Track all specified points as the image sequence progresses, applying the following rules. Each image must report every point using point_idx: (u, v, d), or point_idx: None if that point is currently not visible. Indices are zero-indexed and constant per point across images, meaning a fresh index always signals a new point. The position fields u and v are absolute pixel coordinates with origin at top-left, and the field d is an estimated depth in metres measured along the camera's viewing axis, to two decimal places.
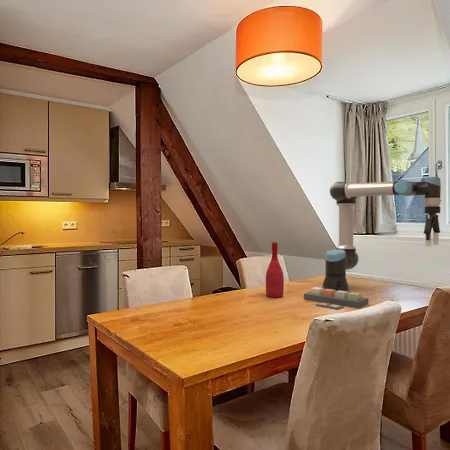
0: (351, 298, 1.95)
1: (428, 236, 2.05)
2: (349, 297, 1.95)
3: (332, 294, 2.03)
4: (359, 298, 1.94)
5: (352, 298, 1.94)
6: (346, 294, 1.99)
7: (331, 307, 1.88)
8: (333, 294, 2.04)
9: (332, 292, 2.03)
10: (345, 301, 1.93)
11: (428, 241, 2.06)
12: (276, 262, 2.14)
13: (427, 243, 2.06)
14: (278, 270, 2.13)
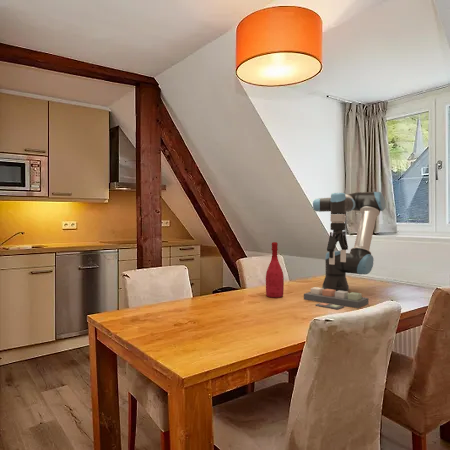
0: (351, 298, 1.95)
1: (331, 254, 1.98)
2: (349, 297, 1.95)
3: (332, 294, 2.03)
4: (359, 298, 1.94)
5: (352, 298, 1.94)
6: (346, 294, 1.99)
7: (331, 307, 1.88)
8: (333, 294, 2.04)
9: (332, 292, 2.03)
10: (345, 301, 1.93)
11: (331, 259, 2.00)
12: (276, 262, 2.14)
13: (331, 261, 2.00)
14: (278, 270, 2.13)
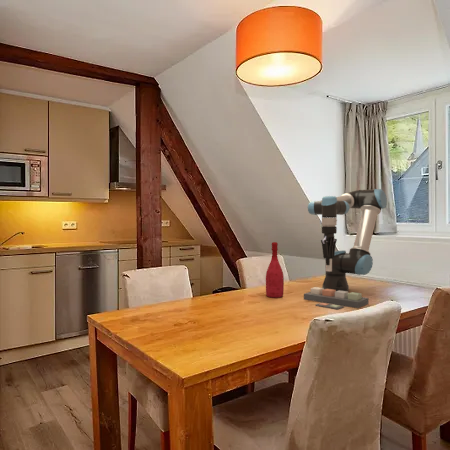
0: (351, 298, 1.95)
1: (327, 261, 2.03)
2: (349, 297, 1.95)
3: (332, 294, 2.03)
4: (359, 298, 1.94)
5: (352, 298, 1.94)
6: (346, 294, 1.99)
7: (331, 307, 1.88)
8: (333, 294, 2.04)
9: (332, 292, 2.03)
10: (345, 301, 1.93)
11: (328, 266, 2.04)
12: (276, 262, 2.14)
13: (327, 268, 2.05)
14: (278, 270, 2.13)
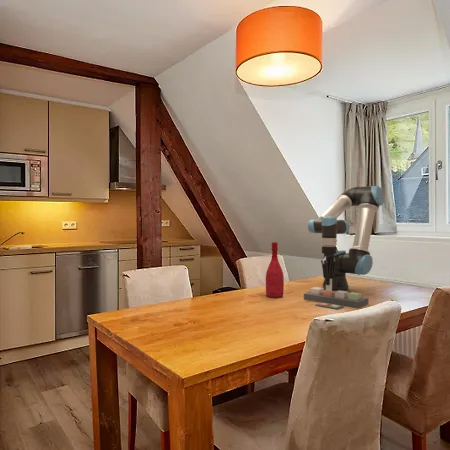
0: (351, 298, 1.95)
1: (327, 281, 2.04)
2: (349, 297, 1.95)
3: (332, 295, 2.03)
4: (359, 298, 1.94)
5: (352, 298, 1.94)
6: (346, 294, 1.99)
7: (331, 307, 1.88)
8: (333, 295, 2.04)
9: (332, 293, 2.03)
10: (345, 301, 1.93)
11: (328, 286, 2.05)
12: (276, 262, 2.14)
13: (327, 288, 2.05)
14: (278, 270, 2.13)
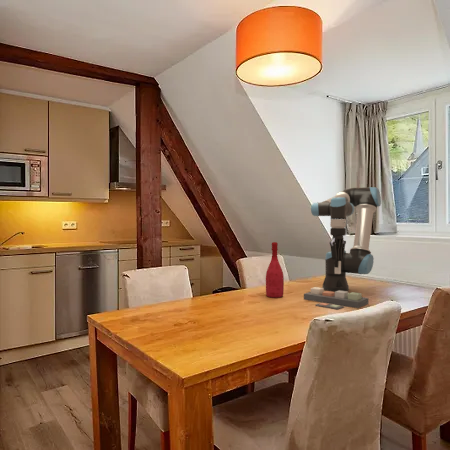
0: (351, 298, 1.95)
1: (336, 263, 2.00)
2: (349, 297, 1.95)
3: None
4: (359, 298, 1.94)
5: (352, 298, 1.94)
6: (346, 294, 1.99)
7: (331, 307, 1.88)
8: None
9: (332, 294, 2.03)
10: (345, 301, 1.93)
11: (337, 268, 2.01)
12: (276, 262, 2.14)
13: (336, 270, 2.01)
14: (278, 270, 2.13)
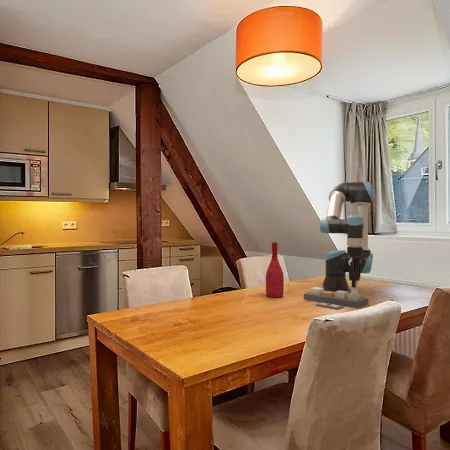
0: (351, 299, 1.95)
1: (353, 283, 1.94)
2: (349, 298, 1.95)
3: None
4: (359, 299, 1.94)
5: (352, 299, 1.94)
6: (346, 294, 1.99)
7: (331, 307, 1.88)
8: None
9: (332, 294, 2.03)
10: (345, 301, 1.93)
11: (354, 288, 1.95)
12: (276, 262, 2.14)
13: (353, 290, 1.95)
14: (278, 270, 2.13)
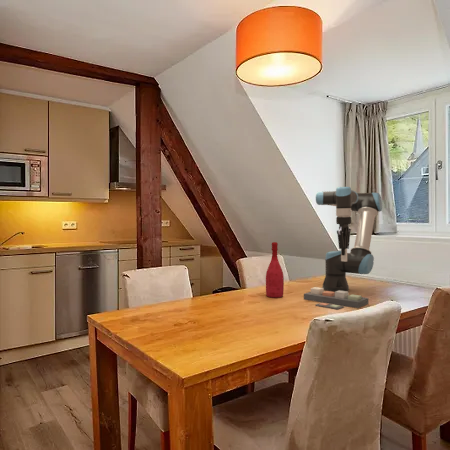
0: None
1: (343, 251, 2.05)
2: None
3: None
4: None
5: None
6: (346, 294, 1.99)
7: (331, 307, 1.88)
8: None
9: (332, 294, 2.03)
10: (345, 301, 1.93)
11: (343, 256, 2.06)
12: (276, 262, 2.14)
13: (343, 258, 2.06)
14: (278, 270, 2.13)
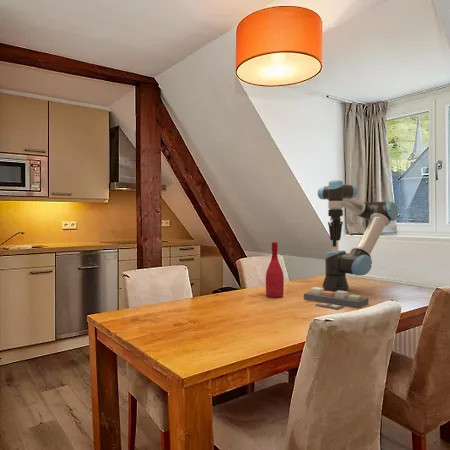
0: None
1: (334, 243, 2.11)
2: None
3: None
4: None
5: None
6: (346, 294, 1.99)
7: (331, 307, 1.88)
8: None
9: (332, 294, 2.03)
10: (345, 301, 1.93)
11: (335, 247, 2.13)
12: (276, 262, 2.14)
13: (334, 249, 2.13)
14: (278, 270, 2.13)
